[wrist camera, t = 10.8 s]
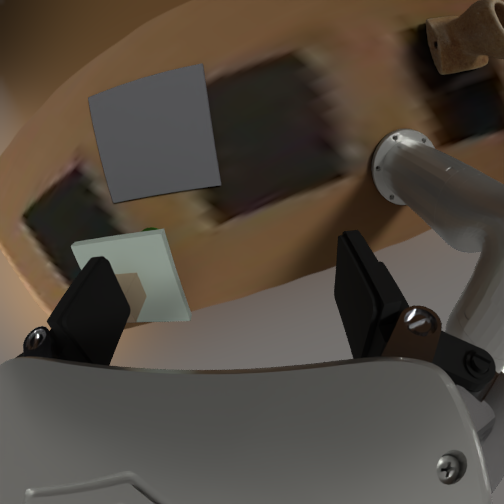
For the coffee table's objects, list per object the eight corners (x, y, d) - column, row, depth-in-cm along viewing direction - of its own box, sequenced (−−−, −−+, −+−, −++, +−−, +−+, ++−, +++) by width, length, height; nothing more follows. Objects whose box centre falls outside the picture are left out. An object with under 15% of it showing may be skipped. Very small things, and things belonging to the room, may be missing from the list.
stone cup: (464, 7, 19) (521, 1, 7) (486, 66, 25) (546, 76, 12) (405, 8, 23) (464, -11, 10) (433, 75, 29) (499, 82, 16)
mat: (202, 64, 30) (202, 63, 29) (221, 184, 40) (220, 185, 39) (90, 97, 31) (88, 97, 31) (114, 201, 41) (113, 203, 40)
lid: (163, 228, 31) (147, 258, 26) (191, 314, 39) (184, 348, 33) (74, 242, 32) (52, 268, 27) (111, 316, 39) (98, 345, 34)
